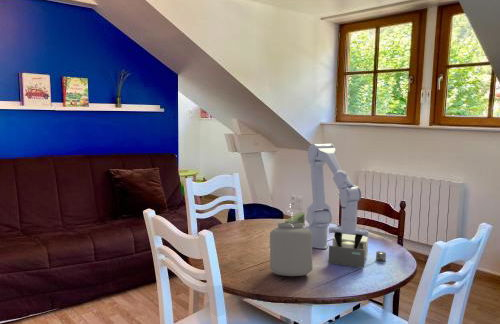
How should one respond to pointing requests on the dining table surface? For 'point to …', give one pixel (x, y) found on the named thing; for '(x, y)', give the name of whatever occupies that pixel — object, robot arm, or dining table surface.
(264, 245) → the dining table surface
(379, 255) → the stand
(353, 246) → the cream cylinder
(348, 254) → the grey box with handle
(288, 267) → the jar
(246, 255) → the dining table surface
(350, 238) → the box
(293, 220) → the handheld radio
